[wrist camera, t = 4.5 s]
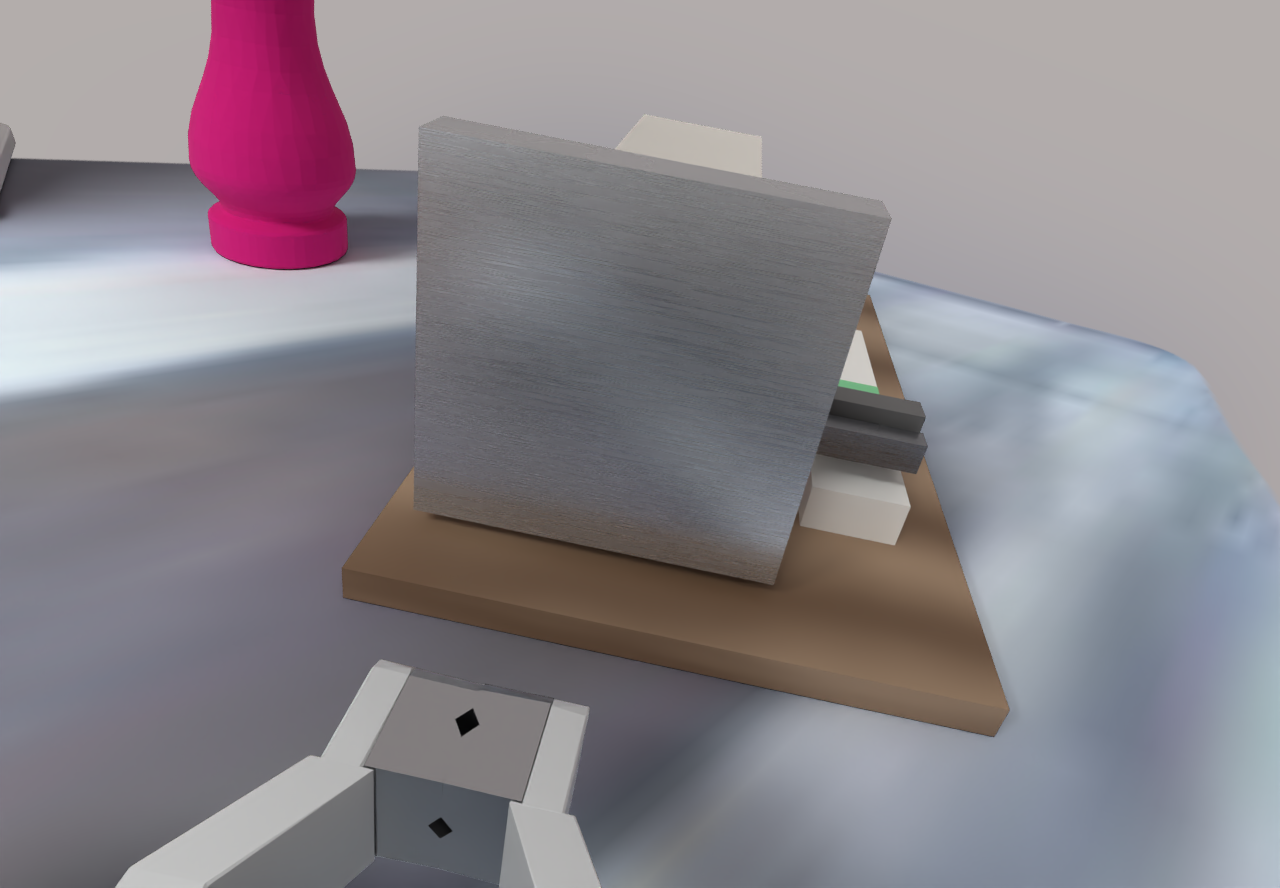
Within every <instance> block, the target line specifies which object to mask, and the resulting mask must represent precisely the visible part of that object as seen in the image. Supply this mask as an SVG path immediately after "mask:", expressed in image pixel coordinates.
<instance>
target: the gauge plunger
mask: <svg viewBox="0 0 1280 888" xmlns="http://www.w3.org/2000/svg"><path fill="white" fill-rule="evenodd" d="M418 156H419V157H418V162H419V163H418V224H417V295H416V366H415V436H414V507H413V510H418V511H423V512H427V513H432V514H437V515H442V516H447V517H451V518H456V519H461V520H466V521H470V522H475V523H480V524H485V525H489V526H494V527H499V528H504V529H508V530H513V531H518V532H523V533H527V534H532V535H537V536H542V537H546V538H551V539H556V540H561V541H566V542H570V543H575V544H580V545H585V546H589V547H594V548H599V549H604V550H608V551H613V552H618V553H623V554H627V555H632V556H637V557H642V558H646V559H651V560H656V561H661V562H666V563H670V564H675V565H680V566H685V567H689V568H694V569H699V570H704V571H708V572H713V573H718V574H723V575H727V576H732V577H737V578H742V579H746V580H751V581H756V582H761V583H766V584H770V585H774V582H775V579H776V576H777V573H778V570H779V567H780V564H781V561H782V558H783V554H784V551H785V548H786V545H787V542H788V539H789V536H790V533H791V530H792V527H793V523H794V520H795V517H796V514H797V511H798V508H799V505H800V502H801V499H802V496H803V492H804V489H805V486H806V483H807V480H808V477H809V474H810V471H811V468H812V464H813V461H814V458H815V455H816V454H819V455H824V456H829V457H834V458H839V459H844V460H848V461H853V462H858V463H863V464H868V465H873V466H878V467H883V468H888V469H892V470H897V471H902V472H907V473H912V474H917V471H918V469H919V467H920V464H921V462H922V459H923V457H924V454H925V452H926V449H927V447H928V446H927V443H926V441H925V438H924V435H923V433H918V432H914V431H909V430H904V429H899V428H894V427H889V426H884V425H879V424H874V423H869V422H864V421H859V420H854V419H849V418H844V417H840V416H835V415H830V414H829V412H830V409H831V405H832V402H833V399H834V396H835V393H836V390H837V387H838V384H839V381H840V378H841V374H842V371H843V368H844V365H845V362H846V359H847V356H848V353H849V350H850V346H851V343H852V340H853V337H854V334H855V331H856V328H857V325H858V322H859V319H860V315H861V312H862V309H863V306H864V303H865V300H866V297H867V294H868V291H869V287H870V284H871V281H872V278H873V275H874V272H875V269H876V266H877V262H878V260H879V256H880V253H881V250H882V247H883V244H884V241H885V238H886V235H887V232H888V228H889V225H890V222H891V217H890V215H889V213H888V211H887V209H886V207H885V205H884V203H883V202H882V201H879V200H873V199H868V198H863V197H858V196H853V195H848V194H843V193H837V192H832V191H827V190H822V189H817V188H812V187H807V186H801V185H795V184H791V183H786V182H781V181H776V180H770V179H765V178H760V177H755V176H750V175H745V174H740V173H734V172H729V171H724V170H719V169H714V168H709V167H703V166H698V165H693V164H688V163H683V162H678V161H673V160H667V159H662V158H657V157H652V156H647V155H642V154H636V153H631V152H626V151H621V150H616V149H611V148H605V147H600V146H595V145H590V144H584V143H580V142H574V141H569V140H564V139H559V138H554V137H549V136H544V135H538V134H533V133H528V132H523V131H518V130H512V129H507V128H502V127H497V126H492V125H487V124H481V123H476V122H471V121H466V120H461V119H455V118H450V117H446V116H442V117H440V118H438V119H436V120H433V121H431V122H429V123H426V124H424V125H422V126H420V127H419V154H418Z"/></svg>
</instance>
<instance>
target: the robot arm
mask: <svg viewBox="0 0 1280 888" xmlns="http://www.w3.org/2000/svg"><path fill="white" fill-rule="evenodd" d="M14 147H15V140H14V137H13V134H12V131H11V129H10V127H9V126H7V125H5V124H2V123H0V191H1V188H2V185H3V182H4V179H5V176H6V172H7V169H8V166H9V163H10V160H11V156H12V153H13V150H14ZM589 710H590V707H587V706H582V705H578V704H573V703H569V702H565V701H560V700H556V699H554V698H550V697H545V696H541V695H536V694H531V693H526V692H522V691H517V690H512V689H507V688H503V687H498V686H493V685H489V684H485V685H482V684H478V683H474V682H470V681H466V680H463V679H459V678H455V677H451V676H447V675H443V674H439V673H435V672H431V671H427V670H423V669H419V668H415V667H410V666H406V665H402V664H398V663H394V662H389V661H385V660H381V659H380V660H379V661H378V662H377V663H376V664H375V665H374V666H373V667H372V668H371V670H370V672H369V674H368V675H367V677H366V679H365V681H364V682H363V684H362V686H361V688H360V689H359V691H358V693H357V695H356V696H355V698H354V700H353V702H352V703H351V705H350V707H349V709H348V710H347V712H346V714H345V716H344V717H343V719H342V721H341V723H340V724H339V726H338V728H337V730H336V731H335V733H334V735H333V737H332V738H331V740H330V742H329V744H328V745H327V747H326V749H325V751H324V753H323V754H322V756H321V757H318V756H313V755H309V756H308V757H306V758H304V759H303V760H301V761H300V762H298V763H296V764H295V765H293V766H292V767H290V768H288V769H287V770H285V771H284V772H282V773H280V774H279V775H277V776H276V777H274V778H272V779H271V780H269V781H267V782H266V783H264V784H263V785H261V786H259V787H258V788H256V789H255V790H253V791H251V792H250V793H248V794H247V795H245V796H243V797H242V798H240V799H239V800H237V801H235V802H234V803H232V804H231V805H229V806H227V807H226V808H224V809H222V810H221V811H219V812H218V813H216V814H214V815H213V816H211V817H210V818H208V819H206V820H205V821H203V822H202V823H200V824H198V825H197V826H195V827H194V828H192V829H190V830H189V831H187V832H185V833H184V834H182V835H181V836H179V837H177V838H176V839H174V840H173V841H171V842H169V843H168V844H166V845H165V846H163V847H161V848H160V849H158V850H157V851H155V852H153V853H152V854H150V855H148V856H147V857H145V858H144V859H142V860H140V861H139V862H137V863H136V864H134V865H132V866H131V867H129V869H128V870H127V872H126V873H125V874H124V876H123V877H122V879H121V880H120V881H119V883H118V884H117V886H116V887H115V888H344V887H345V886H346V885H347V884H348V883H349V882H351V881H352V880H353V879H354V878H355V877H356V876H357V875H358V874H360V873H361V872H362V871H363V870H364V869H365V868H366V867H368V866H369V865H370V864H371V863H372V862H373V861H374V860H375V856H379V857H384V858H389V859H394V860H398V861H403V862H408V863H413V864H418V865H423V866H428V867H433V868H438V869H442V870H445V871H449V872H453V873H457V874H460V875H464V876H468V877H472V878H476V879H479V880H483V881H487V882H491V883H495V884H498V885H499V888H602V887H601V884H600V881H599V878H598V876H597V873H596V870H595V868H594V865H593V862H592V860H591V857H590V854H589V852H588V849H587V846H586V843H585V841H584V838H583V835H582V833H581V830H580V827H579V825H578V822H577V819H576V816H573V815H569V809H570V805H571V801H572V796H573V791H574V786H575V781H576V776H577V771H578V766H579V761H580V756H581V751H582V746H583V741H584V736H585V731H586V726H587V721H588V716H589Z"/></svg>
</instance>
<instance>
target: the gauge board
mask: <svg viewBox="0 0 1280 888" xmlns="http://www.w3.org/2000/svg"><path fill="white" fill-rule="evenodd" d="M856 330H859V331H862V335H863V338H864V342H865V345H866V349H867V352H868V356H869V360H870V363H871V367H872V370H873V374H874V377H875V381H876V385H877V387H878V391H879V394H880V395H885V396H890V397H895V398H900V399H905V398H904V395H903V392H902V389H901V386H900V383H899V381H898V378H897V375H896V372H895V369H894V366H893V363H892V360H891V357H890V354H889V351H888V348H887V345H886V342H885V339H884V336H883V333H882V330H881V327H880V324H879V321H878V318H877V315H876V312H875V309H874V306H873V303H872V300H871V297H870V295H867V297H866V300H865V303H864V306H863V309H862V312H861V315H860V319H859V322H858V325H857V328H856ZM901 474H902V477H903V481H904V485H905V488H906V492H907V495H908V499H909V502H910V506H911V507H910V510H909V512H908V515H907V517H906V520H905V522H904V524H903V527H902V529H901V532H900V534H899V537H898V539H897V541H896V544H895V545H890V544H885V543H880V542H875V541H871V540H866V539H861V538H856V537H851V536H847V535H842V534H837V533H832V532H827V531H822V530H818V529H813V528H808V527H803V526H800V522H799V508H798V511H797V514H796V517H795V520H794V523H793V527H792V530H791V533H790V536H789V539H788V542H787V545H786V548H785V551H784V554H783V558H782V561H781V564H780V567H779V570H778V573H777V576H776V579H775V582H774V585H770V584H766V583H761V582H756V581H751V580H746V579H742V578H737V577H732V576H727V575H723V574H718V573H713V572H708V571H704V570H699V569H694V568H689V567H685V566H680V565H675V564H670V563H666V562H661V561H656V560H651V559H646V558H642V557H637V556H632V555H627V554H623V553H618V552H613V551H608V550H604V549H599V548H594V547H589V546H585V545H580V544H575V543H570V542H566V541H561V540H556V539H551V538H546V537H542V536H537V535H532V534H527V533H523V532H518V531H513V530H508V529H504V528H499V527H494V526H489V525H485V524H480V523H475V522H470V521H466V520H461V519H456V518H451V517H447V516H442V515H437V514H432V513H427V512H423V511H418V510H413V507H414V467H413V468H412V470H411V471H410V473H409V474H408V475H407V477H406V478H405V480H404V481H403V482H402V484H401V485H400V487H399V488H398V489H397V491H396V492H395V494H394V495H393V497H392V498H391V499H390V501H389V502H388V504H387V505H386V506H385V508H384V509H383V511H382V512H381V513H380V515H379V516H378V518H377V519H376V520H375V522H374V523H373V525H372V526H371V528H370V529H369V530H368V532H367V533H366V535H365V536H364V537H363V539H362V540H361V542H360V543H359V544H358V546H357V547H356V549H355V550H354V551H353V553H352V554H351V556H350V557H349V559H348V560H347V561H346V563H345V564H344V566H343V567H342V583H343V597H344V598H348V599H353V600H358V601H362V602H367V603H372V604H376V605H381V606H386V607H390V608H395V609H400V610H404V611H409V612H414V613H418V614H423V615H428V616H432V617H437V618H442V619H446V620H451V621H456V622H460V623H465V624H470V625H474V626H479V627H484V628H488V629H493V630H498V631H502V632H507V633H512V634H516V635H521V636H526V637H530V638H535V639H540V640H544V641H549V642H554V643H558V644H563V645H568V646H572V647H577V648H582V649H586V650H591V651H596V652H600V653H605V654H610V655H614V656H619V657H624V658H628V659H633V660H638V661H642V662H647V663H652V664H656V665H661V666H666V667H670V668H675V669H680V670H684V671H689V672H694V673H698V674H703V675H708V676H712V677H717V678H722V679H726V680H731V681H736V682H740V683H745V684H750V685H754V686H759V687H764V688H768V689H773V690H778V691H782V692H787V693H792V694H796V695H801V696H806V697H810V698H815V699H820V700H824V701H829V702H834V703H838V704H843V705H848V706H852V707H857V708H862V709H866V710H871V711H876V712H880V713H885V714H890V715H894V716H899V717H904V718H908V719H913V720H918V721H922V722H927V723H932V724H936V725H941V726H946V727H950V728H955V729H960V730H964V731H969V732H974V733H979V734H983V735H988V736H993V737H994V736H995V734H996V733H997V731H998V729H999V728H1000V726H1001V724H1002V722H1003V721H1004V719H1005V717H1006V716H1007V714H1008V712H1009V707H1008V704H1007V701H1006V698H1005V695H1004V692H1003V689H1002V686H1001V683H1000V680H999V677H998V674H997V671H996V668H995V665H994V662H993V659H992V656H991V653H990V650H989V647H988V645H987V642H986V639H985V636H984V633H983V630H982V627H981V624H980V621H979V618H978V615H977V612H976V609H975V606H974V603H973V600H972V597H971V594H970V591H969V588H968V585H967V582H966V579H965V576H964V573H963V570H962V567H961V564H960V561H959V559H958V556H957V553H956V550H955V547H954V544H953V541H952V538H951V535H950V532H949V529H948V526H947V523H946V520H945V517H944V514H943V511H942V508H941V505H940V502H939V499H938V496H937V493H936V490H935V487H934V484H933V481H932V478H931V475H930V472H929V470H928V467H927V464H926V461H925V458H924V457H923V459H922V462H921V464H920V467H919V469H918V471H917V474H912V473H907V472H902V471H901Z"/></svg>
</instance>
